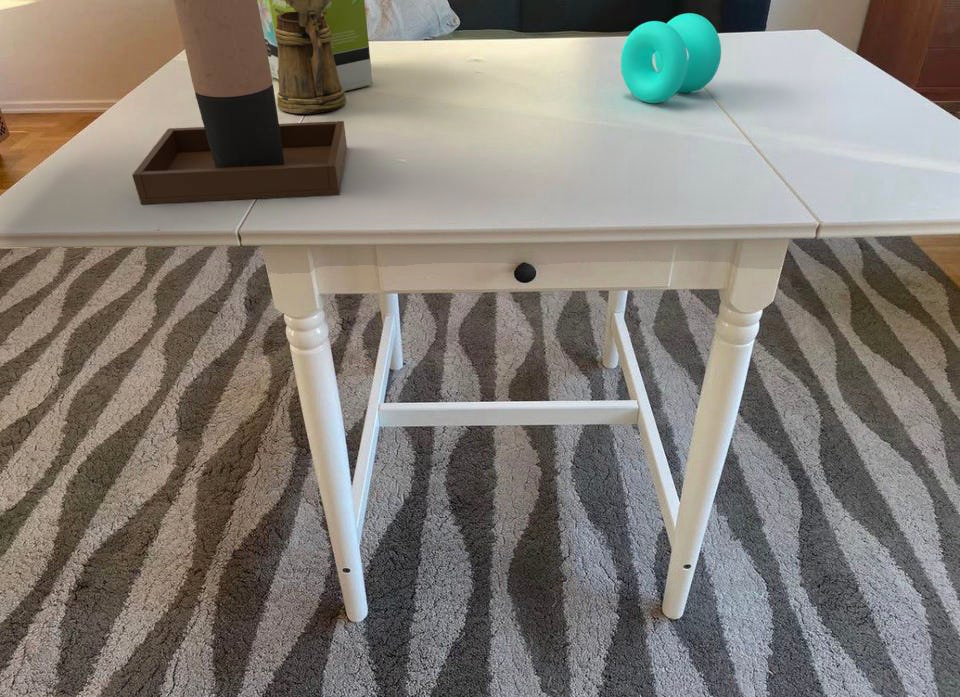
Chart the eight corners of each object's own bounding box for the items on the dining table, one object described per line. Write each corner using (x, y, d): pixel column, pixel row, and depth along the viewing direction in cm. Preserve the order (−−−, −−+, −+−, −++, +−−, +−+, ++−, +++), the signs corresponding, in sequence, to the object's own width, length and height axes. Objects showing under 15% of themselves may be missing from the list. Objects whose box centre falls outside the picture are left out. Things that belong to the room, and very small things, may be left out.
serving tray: (140, 204, 72) (131, 174, 70) (175, 154, 83) (167, 128, 81) (339, 194, 73) (335, 165, 72) (347, 147, 84) (343, 120, 83)
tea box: (264, 77, 109) (245, -33, 100) (324, 66, 114) (310, -40, 105) (313, 99, 99) (295, -21, 91) (375, 85, 104) (364, -30, 96)
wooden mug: (296, 128, 89) (270, -35, 79) (271, 100, 99) (245, -48, 89) (365, 117, 93) (348, -41, 82) (334, 91, 103) (315, -53, 92)
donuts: (718, 97, 98) (732, 18, 92) (671, 113, 93) (683, 30, 87) (659, 82, 104) (669, 6, 99) (612, 95, 99) (620, 17, 93)
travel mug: (218, 158, 80) (170, -45, 69) (288, 152, 82) (253, -49, 70) (210, 185, 74) (156, -33, 63) (286, 178, 75) (247, -37, 64)
